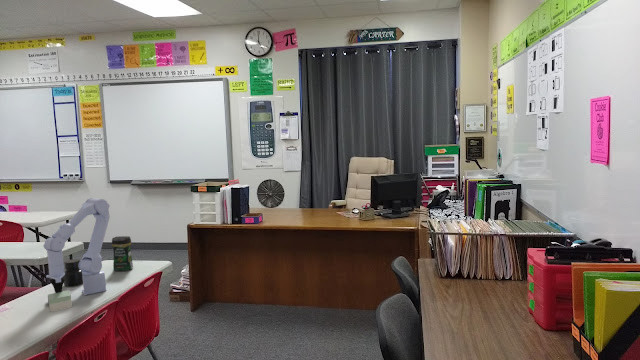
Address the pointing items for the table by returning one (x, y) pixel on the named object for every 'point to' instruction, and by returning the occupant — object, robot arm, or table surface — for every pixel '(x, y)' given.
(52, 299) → the lid
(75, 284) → the ink bottle
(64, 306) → the dish
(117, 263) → the coffee jar
